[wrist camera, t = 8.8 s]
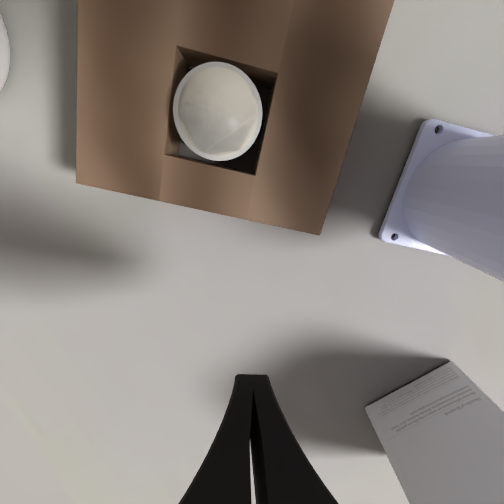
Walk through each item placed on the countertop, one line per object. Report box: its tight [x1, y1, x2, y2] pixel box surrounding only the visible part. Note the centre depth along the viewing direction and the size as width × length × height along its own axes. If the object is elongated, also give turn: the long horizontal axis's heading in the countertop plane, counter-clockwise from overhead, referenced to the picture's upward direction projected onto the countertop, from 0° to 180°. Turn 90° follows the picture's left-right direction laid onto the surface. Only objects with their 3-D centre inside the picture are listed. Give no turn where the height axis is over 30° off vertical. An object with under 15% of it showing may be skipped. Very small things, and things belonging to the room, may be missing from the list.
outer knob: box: [173, 62, 262, 161], centre depth 15 cm, size 4×4×3 cm
